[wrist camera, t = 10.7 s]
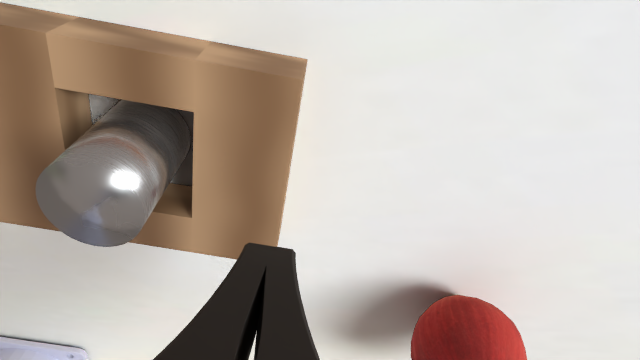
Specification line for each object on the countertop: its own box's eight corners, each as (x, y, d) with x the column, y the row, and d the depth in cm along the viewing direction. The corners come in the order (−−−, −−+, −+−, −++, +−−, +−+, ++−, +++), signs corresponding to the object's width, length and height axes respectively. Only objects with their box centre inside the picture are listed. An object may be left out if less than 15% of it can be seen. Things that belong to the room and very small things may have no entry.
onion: (421, 339, 29) (443, 473, 22) (390, 281, 26) (406, 413, 20) (511, 317, 28) (565, 454, 21) (489, 253, 25) (543, 387, 18)
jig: (22, 191, 24) (-8, 220, 22) (-24, -2, 19) (-70, 11, 16) (279, 233, 25) (273, 265, 23) (307, 59, 19) (302, 79, 17)
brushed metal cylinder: (114, 163, 23) (48, 240, 18) (102, 89, 21) (23, 153, 16) (192, 173, 23) (148, 252, 18) (189, 100, 21) (138, 167, 16)
